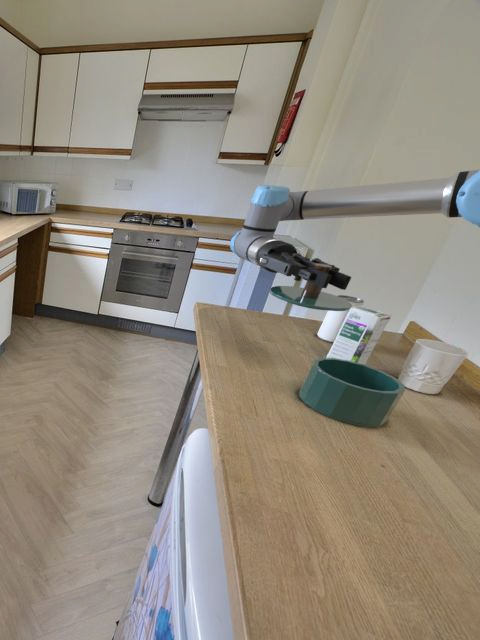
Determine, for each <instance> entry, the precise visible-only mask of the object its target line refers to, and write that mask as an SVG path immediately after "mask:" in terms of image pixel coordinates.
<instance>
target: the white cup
mask: <svg viewBox="0 0 480 640" xmlns="http://www.w3.org/2000/svg"><path fill="white" fill-rule="evenodd" d="M414 341H415V342H414V343H413V345H412V347H411V348H410V351H409V353H408V355H407V357H406V359H405V361H404V363H403V365H402V367H401V370H400V372H399V375H398V377H397V378H396V379H397V380H399V381H400V382H401V383H402V384H403V385H404V388H406V389H409V390H412V391H415V392H418V393H422V394H427V395H436V394H439V393H440V392H441V391H442V389H443V388H444V386H445V384H447V383H448V382H449V381H450V380H451V378H452V376H454V375H455V373H456V372H457V370H458V369H459V367H460V366H461V365H462V364H463V362H464V361H465V359H466V358H467V357H468V356H469V352H468V351H467V350H465V349H463V348H461V347H459V346H456V345H454V344H451V343H447V342H443V341H439V340H436V339H435V340H434V339H427V338H417V339H415V340H414Z"/></svg>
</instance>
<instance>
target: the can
mask: <svg viewBox="0 0 480 640" xmlns="http://www.w3.org/2000/svg"><path fill="white" fill-rule="evenodd" d="M337 296H338V297H341V298H343V299H345V300H347V301H349V302H350V303H351V304H352V307H351V308H353V307H357V306H364V303H365V300H363V299H361V298H359V297H355V296H350V295H343V294H338V295H337ZM348 312H349V310H347V311H328V310H327V312H326V314H325V316H324V318H323V321H322V323H321V325H320V327H319V329H318V332H317V334H316V335H317V337H318V338H319V339H320V340H323V341H325V342H328V343H332V344H333V343H334V341H335V339H336V337H337V335H338V333H339V331H340V329H341V327H342V325H343V322H344V320H345V318H346V316H347V314H348Z"/></svg>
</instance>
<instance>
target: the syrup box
mask: <svg viewBox="0 0 480 640" xmlns="http://www.w3.org/2000/svg"><path fill="white" fill-rule="evenodd" d="M392 315H393V314H392V313H387V312H384V311H381V310H377V309H373V308H370V307H367V306H364V305H363V306H357V307H353V308H351V309H350V310H349V312H348V314H347V316H346V318H345V320H344V322H343V325H342V327H341V329H340V331H339V333H338V335H337V337H336V339H335V341H334V343H332V345H331V347H330V349H329V352H328V353H327V355H326V357H325V358H337V359H343V360H348V361H353V362H356V363H360V364H364V365H367V362H368V360H369V358H370V356H371V354H372V353H373V351H374V350H375V347H376V345H377V343H378V342H379V339H380V338H381V336H382V334H383V332H384V331H385V329H386V327H387V325H388V323H389V322H390V319H391V318H392V317H393V316H392Z"/></svg>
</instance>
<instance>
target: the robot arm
mask: <svg viewBox="0 0 480 640" xmlns="http://www.w3.org/2000/svg"><path fill="white" fill-rule="evenodd" d="M432 214H433V215H435V214H436V215H437V214H441V215H443V216H445V217H446V218H463V219H464V220H465V221H466V222H468V223H471V224H472V225H475V226H477V227H478V228H480V169H473V170H466V171H465V170H464V171H458V172H456V173H454V174H453V175H452V176H449V177H441V178H431V179H419V180H409V181H399V182H388V183H387V182H386V183H379V184H378V183H377V184H366V185H357V186H355V185H354V186H346V187H336V188H335V187H333V188H324V189H312V190H302V191H291V190H290V188H289V187H287V186H280V185H270V184H269V185H268V184H267V185H266V184H261V185H259V186H257V187H256V189H255V191H254V193H253V196H252V197H251V201H250V205H249V208H248V211H247V213H246V217H245V219H244V223H243V225H242V227H241V230H238V231H237V232H236V233H235V234H234V236H233V237H232V238H231V240H230V241H229V242H230V243H229V248H230V250H231V252H232V253H233V254H235V255H236V256H237V257H238V258H240V259H242V260H245V261H247V262H249V263H251V264H254V265H256V266H257V267H258V269H259V270H262V269H263V270H265V271H267V272H269V273H271V274H278V273H279V274H282V275H283V276H286V277H292V276H293V277H294V279H293V281H296V282H301V280H304V281H306V282H307V281H309V282H311V283H313V284H315V285H317V286H319V287H321V288H322V289H327V288H328V286H329V285H331V286H333V287H335V288H337V289H339V290H344V291H346V290H347V289H348V285H349V283H350V281H351V280H352V276H350V275H348V274H345V273H343V272H340V269H341V268H339V267H337V266H336V265H335V264H330V263H328V262H325V261H323V260H321V259H320V258H319V257H317V258H316V257H315V258H312V259H310V258H309V257H306V256H303V255H302V254H301V253H298V250H297V248H296V247H295V246H294V245H293V244H291V243H289V242H286V241H284V240H281V239H278V238H275V237H274V236H275V233H276V231H277V228H278V225H279V222H285V221H303V220H321V219H322V220H324V219H345V218H348V219H349V218H367V217H370V218H371V217H388V216H389V217H391V216H411V215H413V216H414V215H432ZM316 263H318V264H326V265H329V266H332V268H331V270H330V273H329V274H327V273H325V272H322V271H320V270H318V269H315V268H313V266H314V264H316Z"/></svg>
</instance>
